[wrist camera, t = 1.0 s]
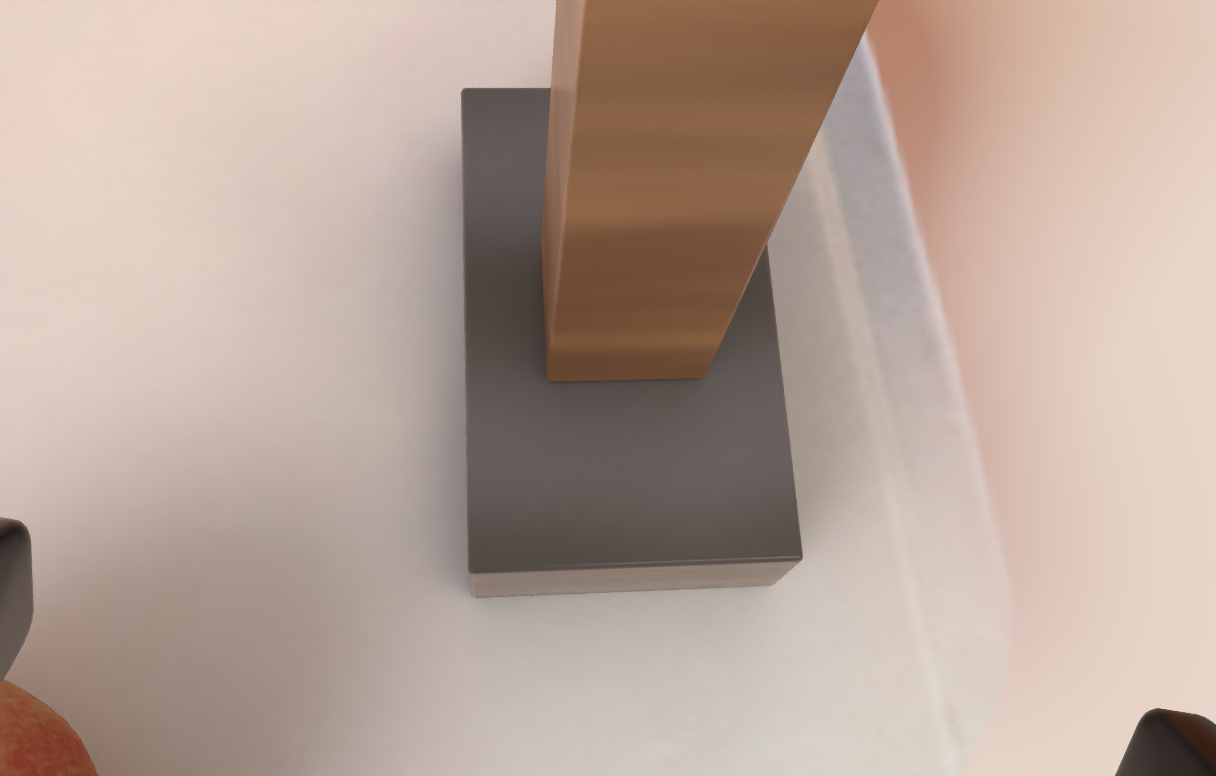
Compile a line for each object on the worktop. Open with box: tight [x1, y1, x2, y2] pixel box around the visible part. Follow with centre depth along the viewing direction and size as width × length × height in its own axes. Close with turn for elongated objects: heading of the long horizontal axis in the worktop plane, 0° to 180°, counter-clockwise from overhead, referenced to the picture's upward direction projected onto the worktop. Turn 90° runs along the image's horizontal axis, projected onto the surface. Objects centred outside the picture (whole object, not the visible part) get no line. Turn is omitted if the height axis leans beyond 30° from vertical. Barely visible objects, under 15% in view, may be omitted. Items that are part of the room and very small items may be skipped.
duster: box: [461, 0, 878, 598], centre depth 17 cm, size 10×6×15 cm, turn 3°
